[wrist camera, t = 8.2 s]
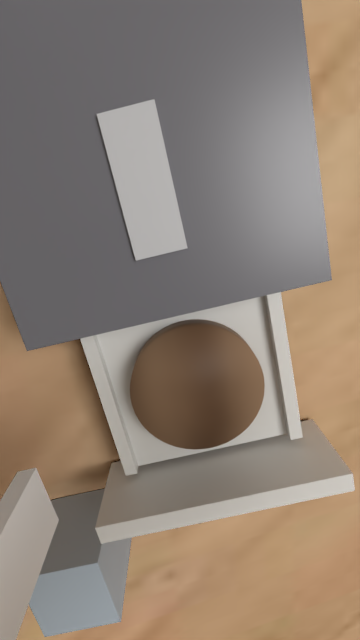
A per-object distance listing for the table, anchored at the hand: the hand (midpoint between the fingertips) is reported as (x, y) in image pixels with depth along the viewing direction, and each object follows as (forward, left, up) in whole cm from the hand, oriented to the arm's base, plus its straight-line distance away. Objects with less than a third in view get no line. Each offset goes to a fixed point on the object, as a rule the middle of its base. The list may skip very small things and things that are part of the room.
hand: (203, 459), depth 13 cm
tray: (0, 0, -10) cm, 10 cm away
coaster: (0, 0, -8) cm, 8 cm away
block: (+11, -10, -10) cm, 18 cm away
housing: (-13, 0, -10) cm, 16 cm away
